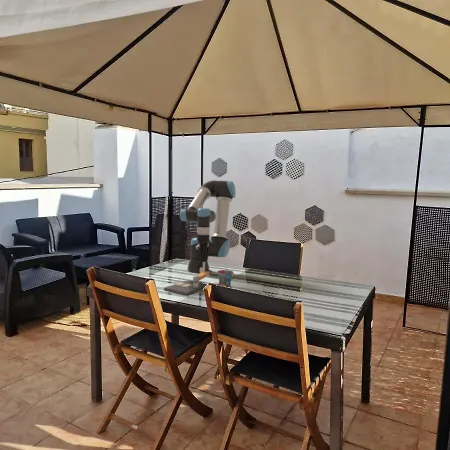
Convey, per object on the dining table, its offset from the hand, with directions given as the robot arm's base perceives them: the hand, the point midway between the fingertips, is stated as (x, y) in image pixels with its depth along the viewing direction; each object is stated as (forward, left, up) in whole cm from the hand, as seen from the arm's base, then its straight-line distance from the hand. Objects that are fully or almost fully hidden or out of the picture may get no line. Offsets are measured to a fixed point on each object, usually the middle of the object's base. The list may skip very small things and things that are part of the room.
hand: (202, 272), depth 233 cm
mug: (+2, +19, -7) cm, 20 cm away
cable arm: (+8, +5, -1) cm, 10 cm away
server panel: (+15, +1, -7) cm, 16 cm away
